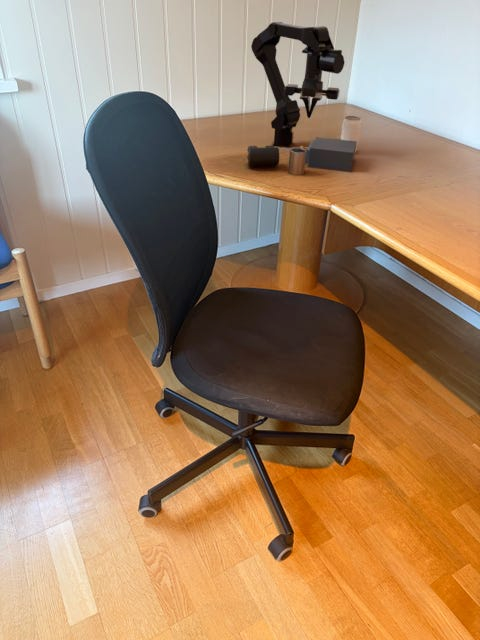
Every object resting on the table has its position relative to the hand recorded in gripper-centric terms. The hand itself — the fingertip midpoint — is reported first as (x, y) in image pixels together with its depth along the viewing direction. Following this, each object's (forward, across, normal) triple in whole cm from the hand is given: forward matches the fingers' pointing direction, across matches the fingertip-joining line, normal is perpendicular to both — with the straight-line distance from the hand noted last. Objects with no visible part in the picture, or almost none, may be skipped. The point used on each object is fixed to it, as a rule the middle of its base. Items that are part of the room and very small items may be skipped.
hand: (308, 117), depth 176 cm
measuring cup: (+12, 0, -24) cm, 27 cm away
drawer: (+11, +7, -10) cm, 17 cm away
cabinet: (+12, +11, -10) cm, 19 cm away
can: (+12, +15, +6) cm, 20 cm away
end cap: (+12, -11, -23) cm, 28 cm away
